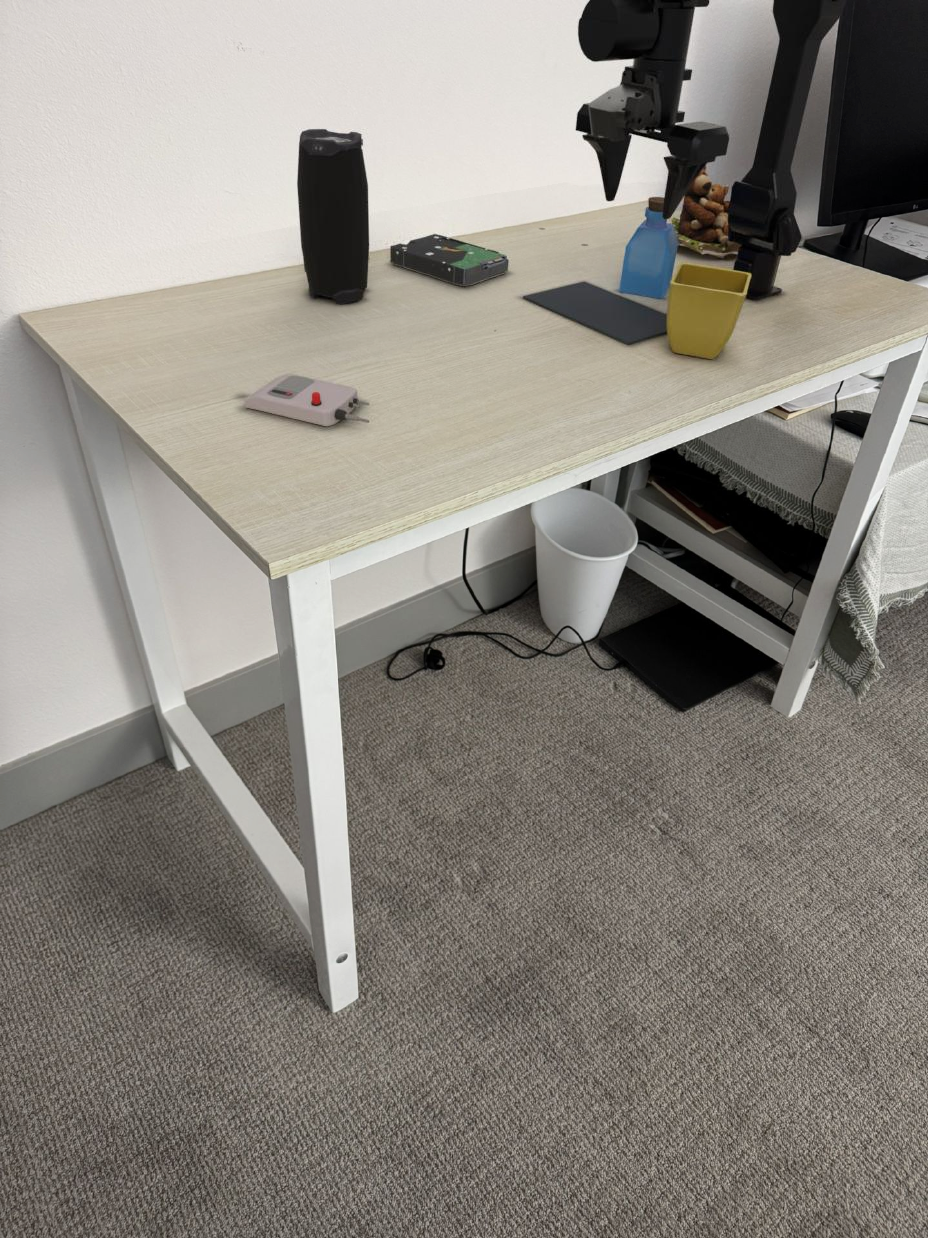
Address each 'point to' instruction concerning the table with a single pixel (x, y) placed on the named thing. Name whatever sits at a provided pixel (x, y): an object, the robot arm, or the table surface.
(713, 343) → the flower pot
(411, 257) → the disk drive
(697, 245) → the bear figurine
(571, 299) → the desk mat
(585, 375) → the table surface
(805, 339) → the table surface
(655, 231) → the perfume bottle
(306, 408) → the grey electronic control box
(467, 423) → the table surface
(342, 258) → the portable speaker
